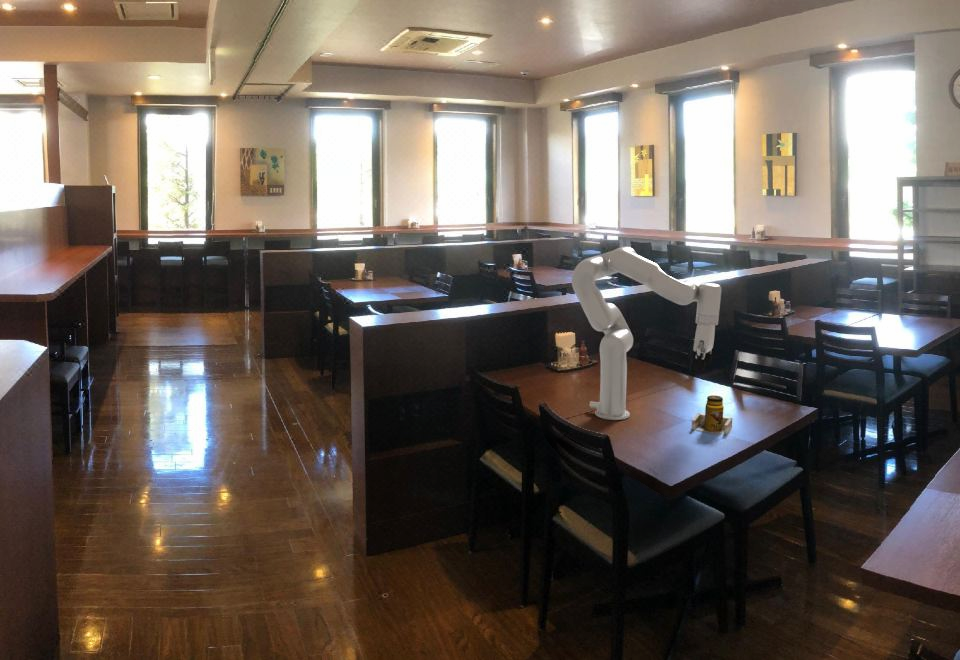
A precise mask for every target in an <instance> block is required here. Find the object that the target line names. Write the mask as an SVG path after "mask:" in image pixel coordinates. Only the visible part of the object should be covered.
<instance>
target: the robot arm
mask: <svg viewBox="0 0 960 660" xmlns="http://www.w3.org/2000/svg"><path fill="white" fill-rule="evenodd" d="M618 273H620V274H621V275H624V277H625V276H626V278H627V277H628V278H629V279H631V280H634V281H635V282H638V283H640V284H642V285H644V286H645V287H646V288H648V289H649V290H651V291H653V292H654V293H656V294H657V295H659V296H660V297H663V298H664V299H665V300H668V301H671V302H672V303H675V304H677V305H680V306H687V305H689V304H691V303H693V302H696V303H697V304H696V315H695V324H697V325H696V330H695V335H694V341H693V351H694V352H696V353H695V358H694V359H695V360H694V371H701V372H703V371H704V370H705V365H706V366H710V365H711V363H712V352H713V351H712V349H713V348H714V343H715V342H714V341H715V333H716V331H715V330H716V326H718V325H719V317H720V308H721V300H722V299H721V296H722V286H721V285H720V284H718V283H711V282H705V283H703V282H699V281H695V280H689V279H687V280H684V281H681V280H678V279H676V278H674V277H672V276H670V275H668V274H667V273H666V272H665V271H663V270H662V269H661V267H660V266H659V265H658V264H657V263H656V262H653V261H652V260H649V259H647V258H645V257H643V256H642V255H639V254H638V253H637V252H636V251H635V249H634V248H632V247H630V246H622V247H618V248H615V249H614V250H611V251H608V252H604V253H601V254H598V255H594V256H591V257H587V258H584V259H583V260H582V261H580V262H579V263H578V264H577V265H576V267H574V270H573V271H572V276H571V286H572V287H571V288H572V289H573V291H574V294H575V296H576V298H577V300H578V302H579V303H580V305H581V308H582V310H583V312H584V314H585V316H586V318H587V320H588V322H589V324H590V325H591V327H592V329H594V330H595V331H597V332H602V333H604V336H603V337H602V338H601V341H600V342H599V343H600V344H599V356H600V383H599V384H600V387H599V388H600V389H599V390H600V391H599V401H598V402H597V401H589V407H590V408H591V409H596V410H595V411H594V412H595V416H597V417H598V418H600V419H601V420H602V419H603V420H610V421H618V420H620V421H622V420H626V419H628V418H630V411H628V410H627V408H626V405H627V404H626V403H627V402H626V401H627V378H628V377H627V375H628V374H627V373H628V366H627V365H628V364H627V363H628V362H627V352H629V351H630V349H632V347H633V345H634V336H633V334H632V332H631V329H630V328H629V325H628V323H627V322H626V319H625V318H624V316H623V314H622V312H621V311H620V309H619V308H618V306H616V305H615V304H614V303H612V302H606V300H605V298H604V296H603V294H602V292H601V290H600V289H599V287H598V286H597V285H596V281H597V280H599V279H602V278H604V277H605V278H606V277H608V276H611V275H614V274H618Z"/></svg>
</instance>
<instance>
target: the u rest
mask: <svg viewBox="0 0 960 660" xmlns="http://www.w3.org/2000/svg"><path fill="white" fill-rule="evenodd" d="M701 424H704V425H705V413H699V412H698V413H697V414H696V415H695V416H694V418H692V420H691V431H696V430H697V429H698V427H699V426H700V425H701ZM722 428H724V430H723V435H724V436H727V435H728V434H729V433H730V432H731V429H732V428H733V417H726V416H723V424H722Z"/></svg>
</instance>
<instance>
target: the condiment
mask: <svg viewBox="0 0 960 660" xmlns="http://www.w3.org/2000/svg"><path fill="white" fill-rule="evenodd" d="M706 399H707V400H706V404H705V407H704V408H705V411H704V414H705V425H704V424H699V425H698V426H697V428H696V431H699V432H706V433H712V434H718V435H721V434H722V433H724V427H722V424H723V417H724V404H723V403H724V402H723V401H724V399H723V397H722V396H720V395H712V394H711V395H709V396H707V397H706Z"/></svg>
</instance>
